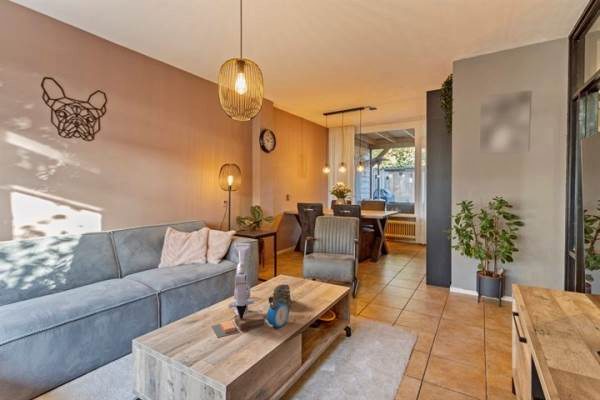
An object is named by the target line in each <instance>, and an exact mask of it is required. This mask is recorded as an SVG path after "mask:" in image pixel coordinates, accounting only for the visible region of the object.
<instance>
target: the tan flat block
mask: <svg viewBox="0 0 600 400" xmlns="http://www.w3.org/2000/svg"><path fill="white" fill-rule="evenodd" d="M234 324H235V326H236V327H237V329H238V330H239V332H243V331H248V330H252V329H256V328H260V327H264V326H265V318H264V316H262V315H261V313H260V312H259V311H258V310H254V311H251V312H250V311H249V313H245V314H244V315H243V318H242V319H240V318H239V315H237V314H236V315H234Z"/></svg>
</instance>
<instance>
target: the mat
mask: <svg viewBox="0 0 600 400" xmlns="http://www.w3.org/2000/svg"><path fill="white" fill-rule="evenodd" d="M232 323H233V324H234V326H235V327H236V331H232V332H228V333H224V331H223V329H222V328H221V323H220V324H219V323H218V324H216V325H215V324H214V325H212V326H211V328H212V330H213V332H214V333H215V336H216V337H217V338H222V337H228V336H230V335H235V334H238V333H239V334H240V333H241V331H240V329H239V328H238V326H237V325H236V324H235V322H234V321H232Z"/></svg>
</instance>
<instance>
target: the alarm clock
mask: <svg viewBox="0 0 600 400" xmlns="http://www.w3.org/2000/svg"><path fill="white" fill-rule="evenodd" d="M278 301H280V302H278ZM278 301H273V302H271V304H270V303H269V304H270V305H269V307H268V310H267V313H266V320H267V322H268V324H269V325H271V326H274V327H275V328H276V329H279V328H283V326H285V325H286V323H287V322H288V319H289V316H290V309H289V306H287V305H286V304H284V303H286V300H285V299H283V298H280V299H279V300H278ZM282 302H283V303H282Z"/></svg>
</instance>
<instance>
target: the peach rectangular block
mask: <svg viewBox="0 0 600 400" xmlns="http://www.w3.org/2000/svg"><path fill="white" fill-rule="evenodd" d="M232 322H233V321H232V320H228V321H223V322H220V324H221V328H222V329H223V331H224V333H228V332H232V331H236V327H237V326H236V325H235V326H236V327H235V326H234V324H235V323H234V322H233V323H234V324H233V323H232Z"/></svg>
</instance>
